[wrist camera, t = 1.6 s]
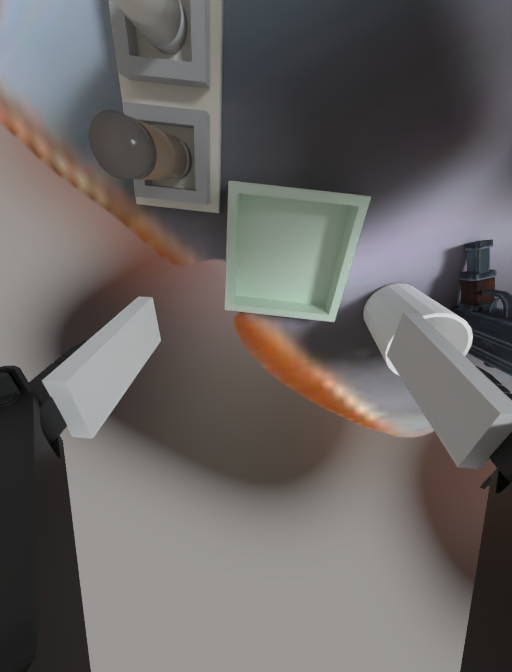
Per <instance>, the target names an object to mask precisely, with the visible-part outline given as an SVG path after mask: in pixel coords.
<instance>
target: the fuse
mask: <svg viewBox="0 0 512 672" xmlns="http://www.w3.org/2000/svg"><path fill="white" fill-rule="evenodd" d="M112 1H113V2H114V3H115V4H116V5H117V7H118V8H119V9H120V10H121V11H122V12H123V13H124V14H125V15H126V17H127V18H128V19H129V20H130V21H131V22H132V23H133V24H134V25H135V26H136V28H137V29H138V30H139V31H140V32H141V33H142V34H143V35H144V36H145V37H146V38H147V39H148V40H149V41H150V42H151V43H152V44H153V45H154V47H155V48H156V49H157V50H159V51H160V52H162V53H164V54H174V53H176V52H178V51H179V50H180V49H181V48H182V46H183V45H184V43H185V40H186V36H187V18H186V14H185V11H184V8H183V6H182V4H181V2H180V0H112Z"/></svg>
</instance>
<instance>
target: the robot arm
mask: <svg viewBox="0 0 512 672" xmlns="http://www.w3.org/2000/svg"><path fill="white" fill-rule="evenodd" d="M160 341H161V338H160V333H159V327H158V322H157V318H156V312H155V307H154V302H153V298H152V297H137V298H136V299H135V300H134V301H133V302H132V303H130V304H129V305H128V306H127V307H126V308H125V309H124V310H123V311H121V312H120V313H119V314H118V315H117V316H116V317H114V318H113V319H112V320H111V321H110V322H109V323H108V324H106V325H105V326H104V327H103V328H102V329H101V330H100V331H98V332H97V333H96V334H95V335H94V336H93V337H91V338H90V339H89V340H88V341H87V342H86V341H83V342H81V343H79V344H77V345H75V346H73V347H71V348H70V349H69V350H68V351H67V352H65V353H64V354H63V355H62V357H59V358H58V359H57V360H56V361H55V362H54V363H52V364H51V365H50V366H48V367H47V368H46V369H45V370H44V371H42V372H41V373H40V374H39V375H38V376H36V377H35V378H34V379H33V380H32V381H31V382H28V381H27V379H26V378H25V376H24V374H23V373H22V371H21V369H20V368H19V367H16V366H3V367H0V672H91V669H90V662H89V654H88V646H87V638H86V629H85V621H84V613H83V604H82V596H81V588H80V580H79V571H78V563H77V555H76V547H75V538H74V530H73V522H72V513H71V505H70V497H69V489H68V480H67V472H66V464H65V456H64V447H63V441H62V439H61V437H60V434H61V432H62V431H63V430H64V429H65V428H66V427H67V428H68V429H69V431H70V433H71V435H72V437H80V438H93V437H94V436H95V434H96V433H97V432H98V430H99V429H100V427H101V426H102V425H103V423H104V422H105V420H106V419H107V417H108V416H109V414H110V413H111V412H112V410H113V409H114V407H115V406H116V404H117V403H118V401H119V400H120V399H121V397H122V396H123V394H124V393H125V391H126V390H127V389H128V387H129V386H130V384H131V383H132V382H133V380H134V379H135V377H136V376H137V374H138V373H139V372H140V370H141V369H142V367H143V366H144V364H145V363H146V361H147V360H148V359H149V357H150V356H151V354H152V353H153V352H154V350H155V349H156V347H157V346H158V344H159V343H160ZM387 357H388V358H389V360H390V361H391V363H392V364H393V366H394V368H395V369H396V371H397V372H398V374H399V375H400V377H401V379H402V380H403V382H404V383H405V385H406V387H407V388H408V390H409V391H410V393H411V394H412V396H413V398H414V399H415V401H416V402H417V404H418V405H419V407H420V409H421V410H422V412H423V413H424V415H425V417H426V418H427V420H428V421H429V423H430V424H431V426H432V428H433V429H434V431H435V432H436V434H437V435H438V437H439V439H440V440H441V442H442V443H443V444H444V446H445V448H446V450H447V451H448V453H449V454H450V456H451V457H452V459H453V461H454V462H455V464H456V465H457V467H462V468H474V469H480V468H481V467H482V466H483V465H484V464H485V463H486V462H487V460H488V459H489V458H490V459H491V461H492V462H493V463H494V464H495V466H496V467H497V468H496V470H495V471H494V472H493V473H492V474H491V475H490V476H489V477H488V478H487V479H486V480H485V481H484V482H483V483H482V485H481V488H483V489H485V488H486V487H487V486H490V487H489V494H488V500H487V507H486V513H485V519H484V525H483V532H482V538H481V545H480V550H479V557H478V563H477V569H476V576H475V582H474V589H473V595H472V601H471V608H470V614H469V621H468V626H467V633H466V639H465V645H464V652H463V658H462V664H461V671H460V672H512V394H510V391H509V390H508V389H506V388H505V387H504V386H502V384H501V383H500V382H499V381H498V380H497V379H495V378H494V377H493V376H492V375H491V374H489V373H488V372H486V371H484V370H483V369H481V368H479V367H478V366H474V365H473V364H472V363H471V362H470V361H469V360H468V359H467V358H466V357H465V356H464V355H463V354H462V353H461V352H460V351H458V350H457V349H456V348H455V347H454V346H453V345H452V344H451V343H450V342H449V341H448V340H447V339H446V338H445V337H444V336H442V335H441V334H440V333H439V332H438V331H437V330H436V329H435V328H434V327H433V326H432V325H431V324H430V323H429V322H428V321H426V320H425V319H424V318H423V317H422V316H421V315H420V314H419V313H411V312H403V314H402V317H401V319H400V322H399V324H398V327H397V330H396V332H395V335H394V338H393V340H392V343H391V345H390V348H389V351H388V353H387Z"/></svg>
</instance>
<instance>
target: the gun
mask: <svg viewBox="0 0 512 672" xmlns="http://www.w3.org/2000/svg"><path fill="white" fill-rule="evenodd" d="M490 247H493V240H483V241H476V242H471V243H467V244H465V250H467V272H462V273H461V274H459V279H460V283H461V302H460V303H459V308H456V309H453V310H450V311H452V312H453V313H455V314H456V315H458V316H460V317H461V318H463V319H464V320H466V321H467V323H468V324H469V325H470V327H471V329H472V334H473V340H472V345H471V347H470V349H469V351H468V353H469V354H471V355H472V356H474V357H476V358H478V359H480V360H482V361H484V364H485V366H488V367H491V368H497V369H499V370H501V371H503V372H505V373H506V374H508V375H510V376H512V296H511V295H510V294H509V293H507V292H505V291H499V290H495V277H496V271H495V270H489V260H490ZM495 296H496V297H498V298H496V299H495ZM499 299H500V300H501V301H502V303H503V309H499V308H497V302H498V300H499Z"/></svg>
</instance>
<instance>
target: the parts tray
mask: <svg viewBox="0 0 512 672" xmlns="http://www.w3.org/2000/svg"><path fill="white" fill-rule="evenodd" d="M370 200H371V197H370V196H365V195H358V194H349V193H340V192H331V191H322V190H313V189H304V188H295V187H286V186H277V185H267V184H258V183H249V182H240V181H228V213H227V246H226V279H225V280H226V281H225V310H229V311H238V312H247V313H256V314H265V315H274V316H283V317H292V318H301V319H310V320H320V321H329V322H335V319H336V315H337V312H338V308H339V305H340V302H341V298H342V295H343V291H344V288H345V285H346V281H347V278H348V274H349V271H350V268H351V264H352V261H353V257H354V254H355V251H356V247H357V244H358V240H359V237H360V234H361V230H362V227H363V223H364V220H365V217H366V213H367V210H368V206H369V203H370Z"/></svg>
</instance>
